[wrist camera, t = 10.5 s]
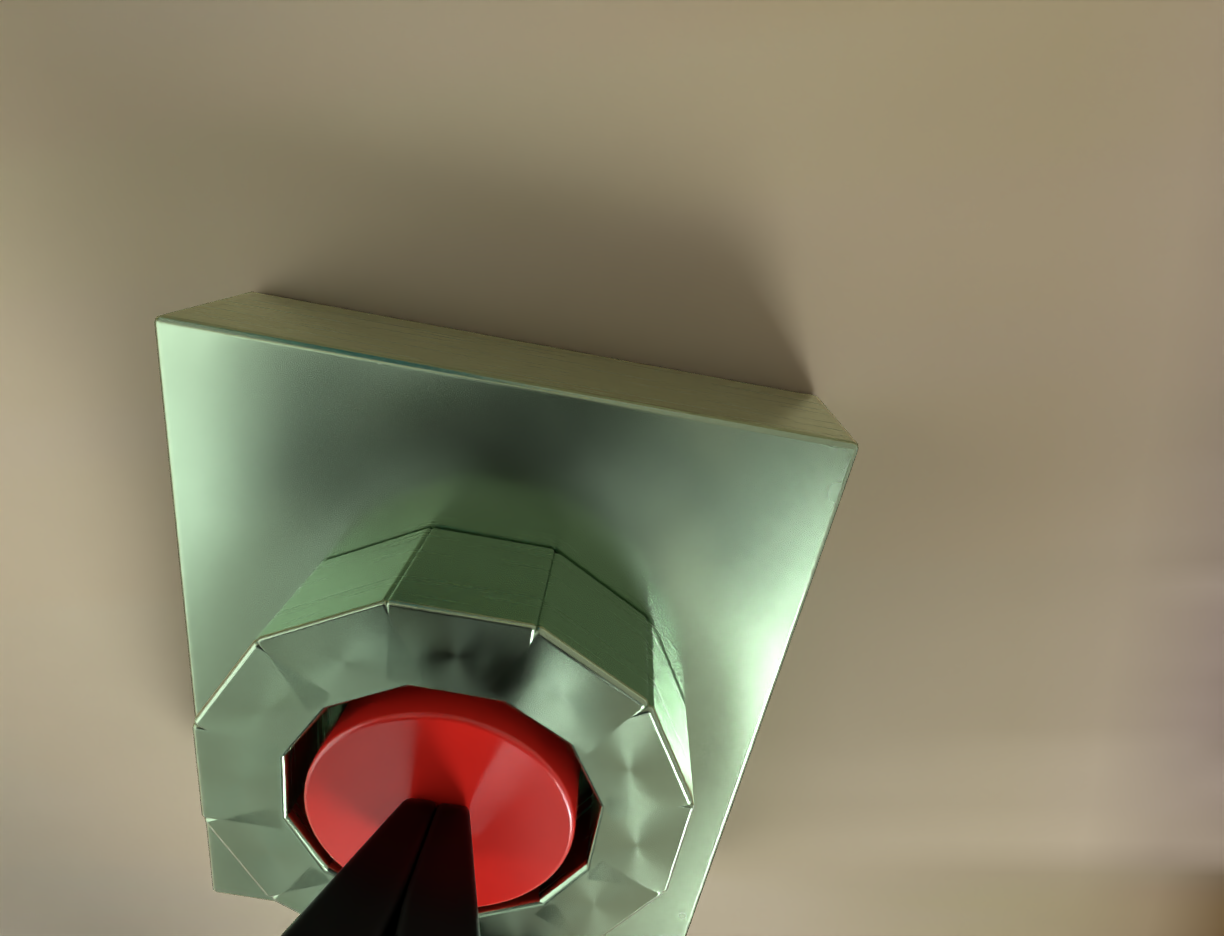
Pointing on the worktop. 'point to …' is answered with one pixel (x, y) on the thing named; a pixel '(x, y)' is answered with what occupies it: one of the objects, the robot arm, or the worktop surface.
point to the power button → (449, 781)
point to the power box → (485, 578)
